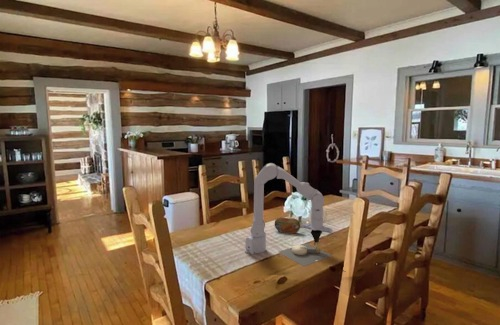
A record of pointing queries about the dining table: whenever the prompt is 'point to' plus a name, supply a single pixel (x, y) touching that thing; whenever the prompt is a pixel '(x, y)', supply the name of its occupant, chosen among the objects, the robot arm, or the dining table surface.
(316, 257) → the stand plate
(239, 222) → the dining table surface
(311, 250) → the cam dial
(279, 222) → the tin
